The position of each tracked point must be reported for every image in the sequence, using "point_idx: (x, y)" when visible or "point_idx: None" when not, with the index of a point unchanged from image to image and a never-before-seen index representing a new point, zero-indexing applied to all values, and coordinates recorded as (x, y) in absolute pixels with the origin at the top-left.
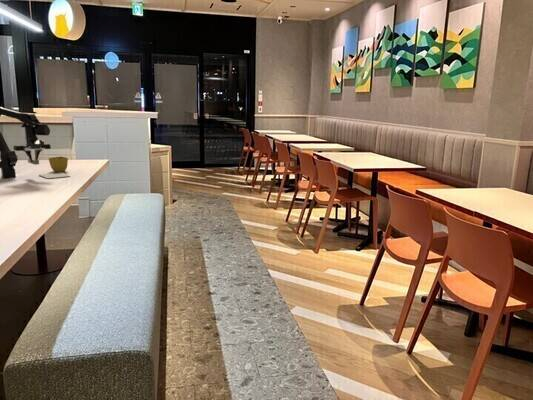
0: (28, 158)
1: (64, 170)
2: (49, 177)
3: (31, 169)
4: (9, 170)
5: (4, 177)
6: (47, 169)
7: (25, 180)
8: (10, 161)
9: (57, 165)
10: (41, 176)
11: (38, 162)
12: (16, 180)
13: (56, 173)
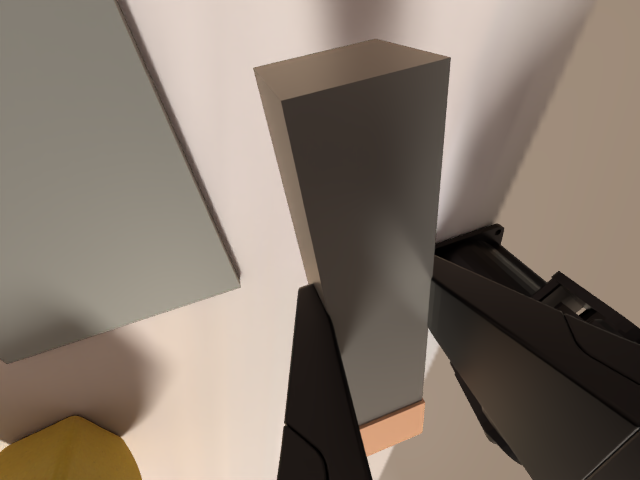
0: (423, 409)
1: (6, 448)
2: (79, 43)
3: (278, 465)
4: (500, 280)
5: (496, 235)
6: (184, 475)
7: (403, 30)
8: (599, 322)
9: (42, 477)
10: (215, 226)
11: (282, 71)
12: (470, 83)
13: (50, 328)
